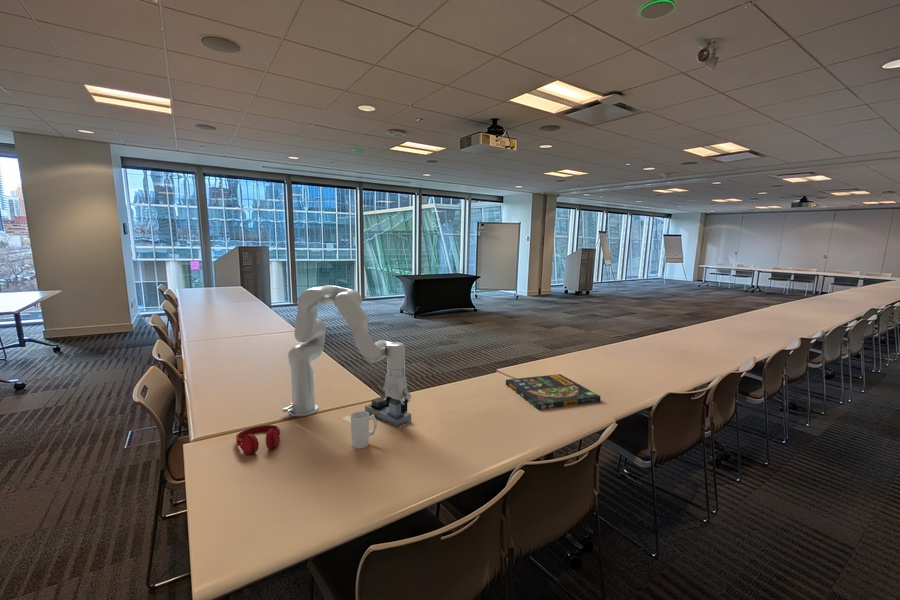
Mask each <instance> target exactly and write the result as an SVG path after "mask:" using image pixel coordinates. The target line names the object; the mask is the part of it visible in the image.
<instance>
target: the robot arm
mask: <svg viewBox="0 0 900 600" xmlns="http://www.w3.org/2000/svg"><path fill="white" fill-rule="evenodd" d="M297 300H298V301H297V311H296V313H297V314H296V318H295V325H294V339H295V340H296V342H299V344H296V345H294V346H293V347H291V349H290V350H289V352H288V354H287V359H288V364H289V368H290V378H291V399H292V401H291V402H290V405H288V406H285V407H282V409H281V413H283V414H284V413H288V414H289V415H290V416H293V417H306V416H310V415H312V414H315V413H317V412H318V411H319V405H317V404H316V401H315V376H314V370H313V366H312V364H311V362H313V361H316V360H317V359H319V358H320V357H321V356H322V355H323V352H324V345H325V339H326V338H325V337H326V334H327V333H326V331H327V330H326V324H325V322H324V321H323V320H322V319H320V318H318V309H317V307H321V306H326V305H332V304H333V305H335V308H336V309H337V310H338V312H339V314H341V315H340V316H342V318H343V319H344V320H345V322H346V323H347V325H348V326H349V328H350V329H351V332H352V337H353V341H354V344H355V346H356V348H357V350H358V351H359V353H361V355H362V356H363V358H364V359H365V360H367V362H370V363H373V364H374V363H377V362H379V361H381V360H383V359H385V358H386V361H387V363H386V364H387V365H386V369H387V370H386V371H387V373H386V374H385V379H384V385H383V386H381V388H382V391H383V394H384V399H385V400H386V407H389V403H390V399H392V398H394V399H396V400H400V401H401V403H402V404H401V413H402V414H403V413H405V412H408V404H409V403H410V401H411V399H412V395H411V394H410V393H409V391H408V383H407V378H406V377H407V376H406V355H405V354H406V348H405V344H404V343H403V342H400V341H399V342H398V341H389V340H384V339H379V340H377V341H375V342H374V341H373V339H372V338H371V336H370V335H369V330H368V324H369V317H368V315H367V314H366V312H365V311H364V310H363V308H362V306H361V304H362V301H363V299H362V296H361V294H360V292H358V291H356V290H355V289H351V288H347V287H342V286H337V285H335V284H334V285H333V284H329V285H321V286H320V285H319V286H313V287H310V288H307V289H305V290H303V291H302V292H301V293H300V294H299V296H298V299H297Z"/></svg>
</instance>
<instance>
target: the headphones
mask: <svg viewBox="0 0 900 600" xmlns="http://www.w3.org/2000/svg"><path fill="white" fill-rule="evenodd" d="M263 432H266V434H265V435H266V436H265V445H266V448H267V449H269V450H272V449H274V448H277V447H278V446H279V442H280V436H281V429H280V428H279V427H278V426H277V425H273V424H268V425H267V424H266V425H258V426H254V427H250V428H247V429H245V430H242V431H240V432H238V433H237V434H236V436H235V437H236V440H235V441H236V444H237V446H238V447H239V448H240V449H241V450H242V452H243V453H244V454H245V455H253V454H255V453H257V452H258V450H259V446H260V444H259V439H258V438H257V436H256V435H254V434H256V433H263Z"/></svg>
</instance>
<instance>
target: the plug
mask: <svg viewBox="0 0 900 600" xmlns="http://www.w3.org/2000/svg"><path fill="white" fill-rule="evenodd" d="M401 404H402V403H401V401H400V400H396V399H394V398H392V399H390V403H389V415H390V416H393V417H395V418H397V417H399V416H402V415H404V413H403V414H402V413H401Z"/></svg>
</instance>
